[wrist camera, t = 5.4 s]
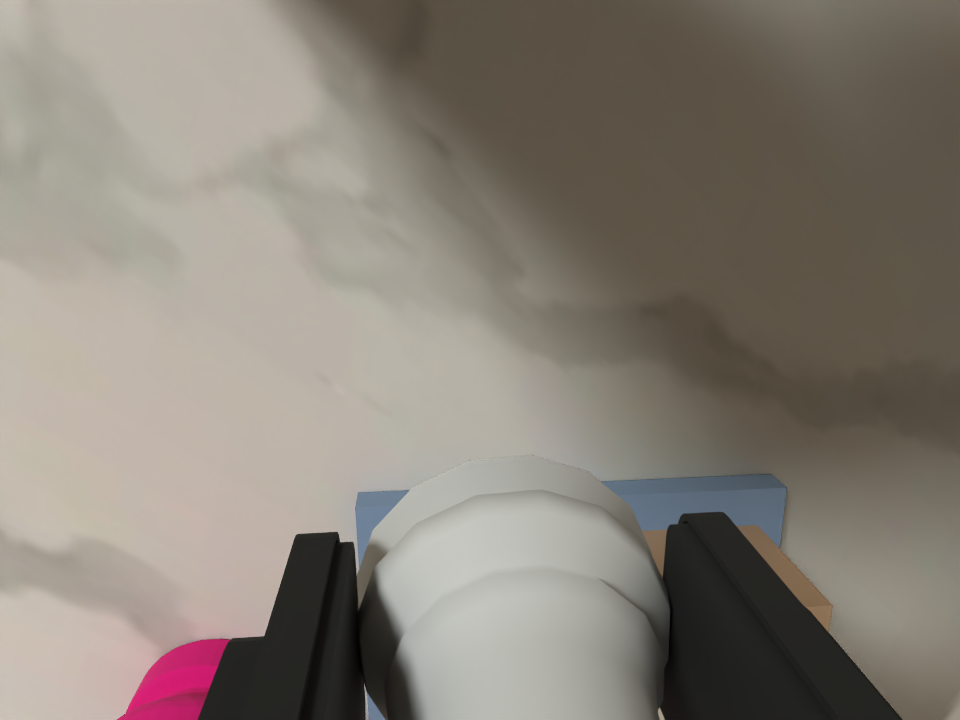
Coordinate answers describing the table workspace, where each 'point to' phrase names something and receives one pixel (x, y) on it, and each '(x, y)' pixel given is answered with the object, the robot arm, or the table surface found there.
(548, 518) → the rook chess piece
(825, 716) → the robot arm
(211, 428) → the table surface
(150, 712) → the pepper mill
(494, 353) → the table surface
